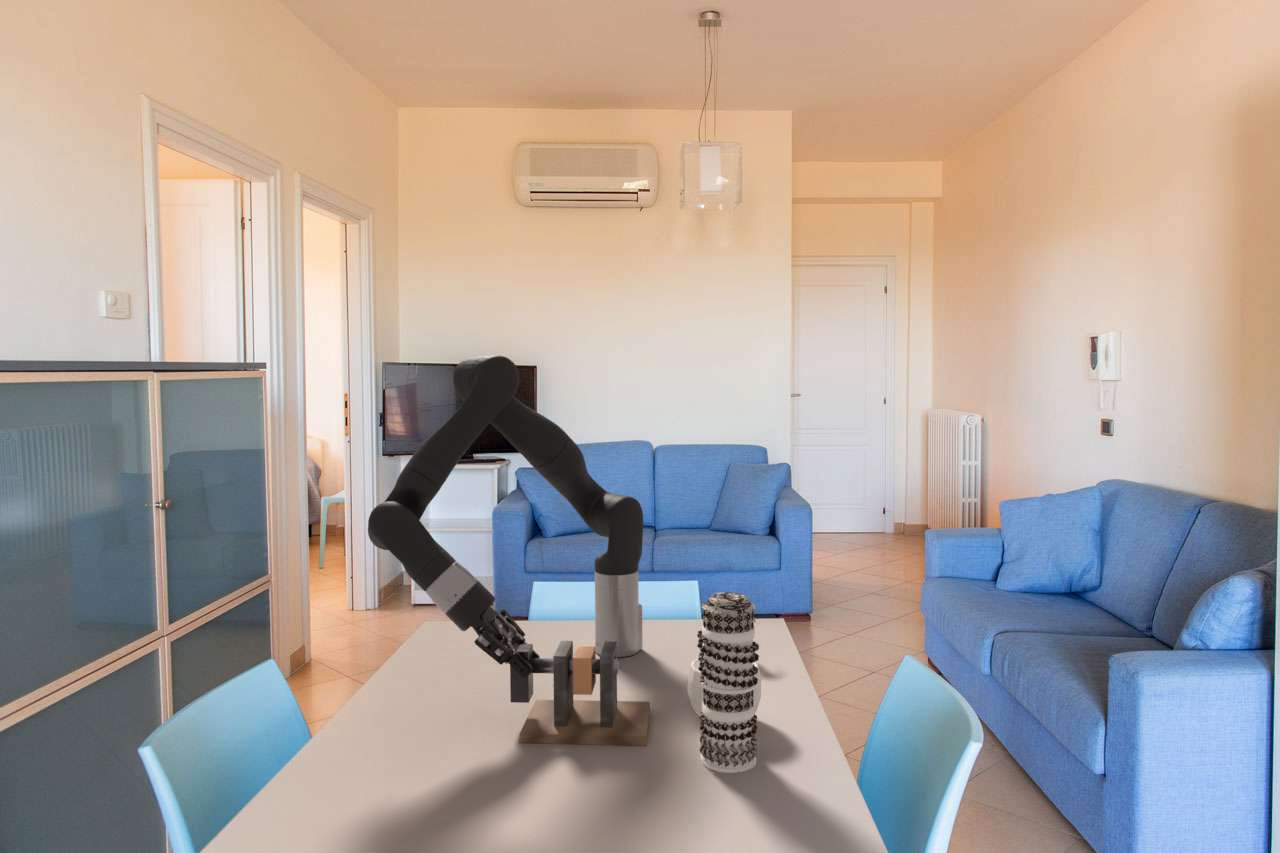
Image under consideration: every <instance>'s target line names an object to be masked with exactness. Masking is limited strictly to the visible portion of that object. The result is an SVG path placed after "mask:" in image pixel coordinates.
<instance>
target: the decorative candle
mask: <svg viewBox="0 0 1280 853" xmlns="http://www.w3.org/2000/svg"><path fill="white" fill-rule="evenodd" d="M700 607H701V608H702V626H701V630H698V631H697V633H696V634H697V638H698V639H697V640H698V643H697V647H698V648H699V651H700V652H699V654H698V657H697V658H698V660H699V661H700V666H699V668H698V669H699V671H701V676H700V679H701V680H700V684H701V686H702V687H703V702H702V712H701V715H700V717H699V719H700V720H701V722H700V726H699V729H700V730H701V732H700V736H699V743H700V747H699V752H700V754H701V755H700V762H701V764H702V765H703V766H704V767H706V768H707V769H709V770H711V771H715V772H718V773H723V774H725V773H726V774H739V773H745V772H747V771H750V770H752V769H753V768H754V767H756V764H757V757H756V756H757V755H758V754H757V751H758V748H757V744H758V742H757V741H758V738H757V737H756V735H755V734H756V733H757V730H758V726H757V725H756V724H757V722H758V721H757V720H758V715H757V714H756V712H755V703H754V702H753V695H754V693H753V689H755V688H756V684H757V681H758V679H757V678H756V677H755V676H754V675H755V674H757V673H758V668H757V667H755V666H754V664H753V662H754V663H756V662H758V661H759V658H760V655H759V654H758V653H756V652H757V651H758V650H759V649H760V645H759V643H757V642H756V641H755V640H754V639H755V635H756V634H755V633H756V631H755V630H756V627H755V623H754V622H755V621H754V618H755V616H754V611H755V610H756V609H757V606H756V605H755V604H754V603H752V602H751V599H750V598H749V597H748V596H746V595H745V594H743V593H739V592H729V591H725V592H717V593H714V594H711V595H710V596H709V597H708V599H707V601H705V602H704V603H702V604H701V606H700ZM703 657H704V658H703ZM703 668H704V669H703ZM754 712H755V713H754ZM738 772H739V773H738Z"/></svg>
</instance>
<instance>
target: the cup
mask: <svg viewBox="0 0 1280 853" xmlns="http://www.w3.org/2000/svg"><path fill="white" fill-rule="evenodd" d="M698 658H699V657H697V658H696V659H694V660H693V661H692V662H691V665H690V668H689V671H688V674H687V675H688V676H687V695H688V698H689V703H690V706H691V708H692V709H693V710H694V712H695V713H696V715H697V716H698V717H699V718H700V715H701V712H702V702H703V687H702V686H701V684H700V680H701V679H700V676H701V671H699V669H698V668H699V666H700V661H699V660H698ZM703 658H704V657H703ZM753 664H754V666H755V667H757V668H758V673H757V674H755V675H754V676H755V677H756V678H757V679H758V681H757V684H756V688H755V689H753V693H754V695H753V702H754V703H755V712H754V713H755V714H756V713H757V710H758V707H759V705H760V702H761V701H760V700H761V697H762V675H761V671H760V668H759V665H758V664H757V663H756V662H755V663H754V662H753ZM703 669H704V668H703Z"/></svg>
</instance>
